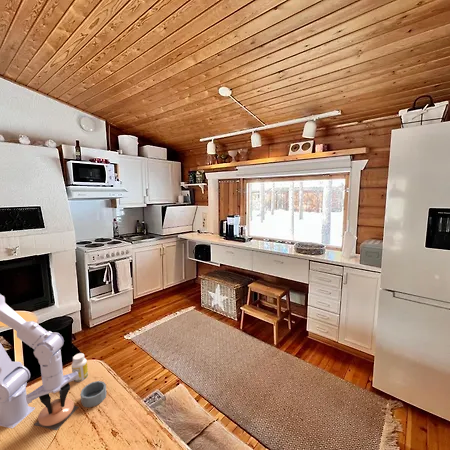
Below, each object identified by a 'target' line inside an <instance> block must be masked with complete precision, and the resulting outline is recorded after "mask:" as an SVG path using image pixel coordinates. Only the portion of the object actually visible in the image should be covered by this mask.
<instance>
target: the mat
mask: <svg viewBox="0 0 450 450" xmlns="http://www.w3.org/2000/svg"><path fill="white" fill-rule="evenodd" d="M78 408H79V406H78V405H77V406H76V405H74V408H73V411H72V412H71V414H70V415H69V416H68V417H67V418H66V419H64V420H63V421H61V422H59V423H57V424H55V425H51V426H42V425H40V424H39V421H38V420H37V421H36V422H35V423H34V424H33V425H34V426H37V427H41V428H45V429H50V430H53V431H58V430H59V429H60V428H61V427H62V426H63V424H65V422H66V421H67V420H68V419H69V418H70V417H71V416H72V415H73V414H74V412H76V410H77V409H78Z"/></svg>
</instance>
